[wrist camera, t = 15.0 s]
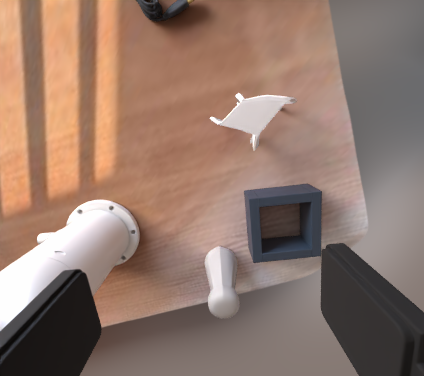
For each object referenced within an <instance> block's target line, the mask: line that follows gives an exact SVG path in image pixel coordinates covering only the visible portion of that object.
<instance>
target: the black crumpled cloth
mask: <svg viewBox="0 0 424 376" xmlns="http://www.w3.org/2000/svg"><path fill="white" fill-rule="evenodd" d="M136 1H137V2H138V4H139V5H140V7H141V9H142V11H143V13H144V14H145V15H146V17H147V18H149V19H150V20H152V21H161V20H163V19H164V20H166V19H168V18H169V17H170V18H171V17H173V16H175V15H177V14H179V13H180V12H182V11H183V10H184V9H186V8H187V7H189V4H190V3H191V2H193V1H194V0H177V1H176V2H175V3H173V4H172V5H171V6H170V7H169V8H168V9H167V10H166V12H165V13H164V14H162V8H161V5H160V3H159V2H158V0H150V1H151V3H148V2H146V1H145V0H136ZM152 6H154V7H152ZM161 15H162V17H161V18H158V17H160V16H161ZM156 18H158V19H156Z"/></svg>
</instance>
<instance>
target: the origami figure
mask: <svg viewBox="0 0 424 376" xmlns="http://www.w3.org/2000/svg"><path fill="white" fill-rule="evenodd" d="M236 99H237V101H238V102H237V103H236V104H238V105H237V106H236V107H235V108H234V109H233V110H232V111H231V112H230V113H229V114H228V116H227V117H226V118H225V119H224V120H223V121H222V120H220V119H217V118H215V117H211V118H210V119H211V121H212V122H214V123H216V124H219V125H222V126H226V127H230V128H234V129H239V130H242V131H244V132H247V133H250V134H252V137H251V141H250V142H251V143H253V149H254V151H255V150H256V148H257V147H258V146H259V137H260V132H261V131H262V130H263V129H264V128H265V126H266V125H267V124H268V123H269V122H270V120H271V119H272V118H273V117H274V116H275V114H276V113H277V112H278V111H279V110H281V109H283V108H282V106H283V105H284V104H291V103H295V102H297V99H296V98H294V97H285V96H275V95H263V96H258V97H253V98H248V99H244V97H243V96H242V95H241V94H240V93H238V94H237V95H236Z"/></svg>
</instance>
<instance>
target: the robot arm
mask: <svg viewBox="0 0 424 376" xmlns="http://www.w3.org/2000/svg"><path fill="white" fill-rule="evenodd" d="M113 207H114V208H113ZM134 230H135V231H134ZM139 240H140V232H139V227H138V224H137V222H136V220H135V218H134V217H133V215H132V214H131V213H130V212H129V211H128V210H127V209H125V208H124V207H123V206H121V205H119V204H117V203H115V202H112V201H107V200H93V201H89V202H87V203H84V204H82V205H81V206H79V207H78V208H77V209H75V210H74V211H73V212H72V214H71V215H70V217H69V219H68V221H67V226H66V227H65V228H63V229H62V230H58V231H57V232H56V233H52V232H50V233H41V234H39V235H38V237H37V242H38V244H39V245H38V246H37V247H35V248H34V249H32V250H31V251H30V252H28V253H27V254H25V255H24V256H22V257H21V258H19V259H18V260H16V261H15V262H13V263H12V264H10V265H9V266H8V267H6V268H5V269H3V270H2V271H1V272H0V376H79V375H80V373H81V372H82V370H83V368H84V366H85V364H86V362H87V360H88V358H89V357H90V355H91V353H92V351H93V349H94V347H95V345H96V343H97V342H98V339H99V338H100V335H101V324H100V320H99V317H98V313H97V310H96V306H95V302H94V299H93V296H94V295H95V293H96V292H97V290H98V289H99V287H100V286H101V284H102V283H103V282H104V280H105V279H106V277H107V276H108V274H109V273H110V272H111V270H112V269H113V267H114V266H117V265H119V264H122V263H124V262H125V261H127V260H128V259H129V258H130V257H131V256H132V255H133V254H134V252H135V251H136V249H137V247H138V244H139ZM321 311H322V314H323V316H324V318H325V320H326V321H327V323H328V325H329V326H330V328H331V330H332V331H333V333H334V335H335V336H336V338H337V340H338V341H339V343H340V345H341V347H342V348H343V350H344V352H345V353H346V355H347V357H348V358H349V360H350V362H351V363H352V365H353V367H354V368H355V370H356V372H357V373H358V375H359V376H424V312H423V311H422V310H420V309H419V308H418V307H417V306H416V305H415V304H414V303H412V302H411V301H410V300H409V299H408V298H406V297H405V296H404V295H403V294H402V293H401V292H400V291H399V290H397V289H396V288H395V287H394V286H393V285H392V284H390V283H389V282H388V281H387V280H386V279H385V278H383V277H382V276H381V275H380V274H379V273H378V272H377V271H375V270H374V269H373V268H372V267H371V266H369V265H368V264H367V263H366V262H365V261H364V260H362V259H361V258H360V257H359V256H358V255H357V254H355V252H353V251H352V250H351V249H350V248H349V247H348V246H346V245H345V244H344V243H339V244H328V245H327V246H326V249H323V250H322V263H321Z"/></svg>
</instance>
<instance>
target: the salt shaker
mask: <svg viewBox="0 0 424 376" xmlns="http://www.w3.org/2000/svg"><path fill="white" fill-rule="evenodd" d="M237 266H238V265H237V258H236V256H235V255H234V253H233V252H232V251H231V250H229V249H227V248H225V247H222V246H218V247H216V248H214V249H212V250H211V251H210V252H209V253H208V254H207V256H206V259H205V269H206V273H207V277H208V281H209V285H210V289H211V292H210V295H209V297H208V305H209V310H210V312H211V313H212V314H213V315H214V316H216V317H218V318H223V319H226V318H230V317H232V316H234V315H235V314H236V313H237V311H238V309H239V306H240V304H239V296H238V294H237V292H236V291H235V284H236V275H237Z"/></svg>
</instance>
